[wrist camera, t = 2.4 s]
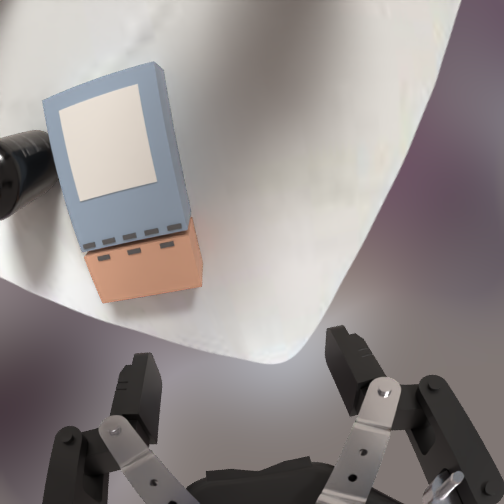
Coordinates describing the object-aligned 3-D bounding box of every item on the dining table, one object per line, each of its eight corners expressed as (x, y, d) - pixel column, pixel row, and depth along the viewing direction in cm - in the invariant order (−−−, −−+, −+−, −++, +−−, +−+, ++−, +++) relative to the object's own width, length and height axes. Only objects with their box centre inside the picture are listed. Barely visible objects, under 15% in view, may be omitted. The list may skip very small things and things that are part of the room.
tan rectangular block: (192, 217, 30) (188, 236, 26) (202, 262, 32) (202, 287, 28) (99, 237, 30) (83, 258, 25) (114, 279, 32) (102, 304, 27)
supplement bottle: (6, 146, 24) (-69, 172, 13) (52, 118, 24) (-23, 130, 13) (26, 203, 27) (-40, 249, 16) (72, 179, 27) (8, 220, 16)
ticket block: (163, 69, 24) (153, 60, 19) (191, 211, 30) (187, 230, 25) (66, 100, 24) (41, 100, 19) (98, 231, 30) (81, 253, 25)
